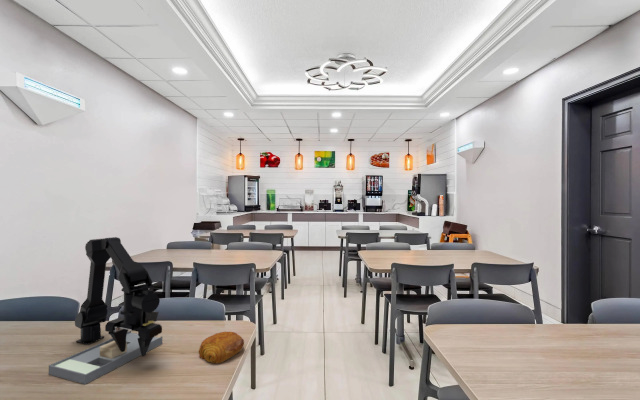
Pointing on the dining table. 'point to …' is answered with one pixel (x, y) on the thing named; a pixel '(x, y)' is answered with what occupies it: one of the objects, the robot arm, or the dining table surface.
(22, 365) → the dining table surface
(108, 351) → the beech block
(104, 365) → the box
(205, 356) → the croissant
